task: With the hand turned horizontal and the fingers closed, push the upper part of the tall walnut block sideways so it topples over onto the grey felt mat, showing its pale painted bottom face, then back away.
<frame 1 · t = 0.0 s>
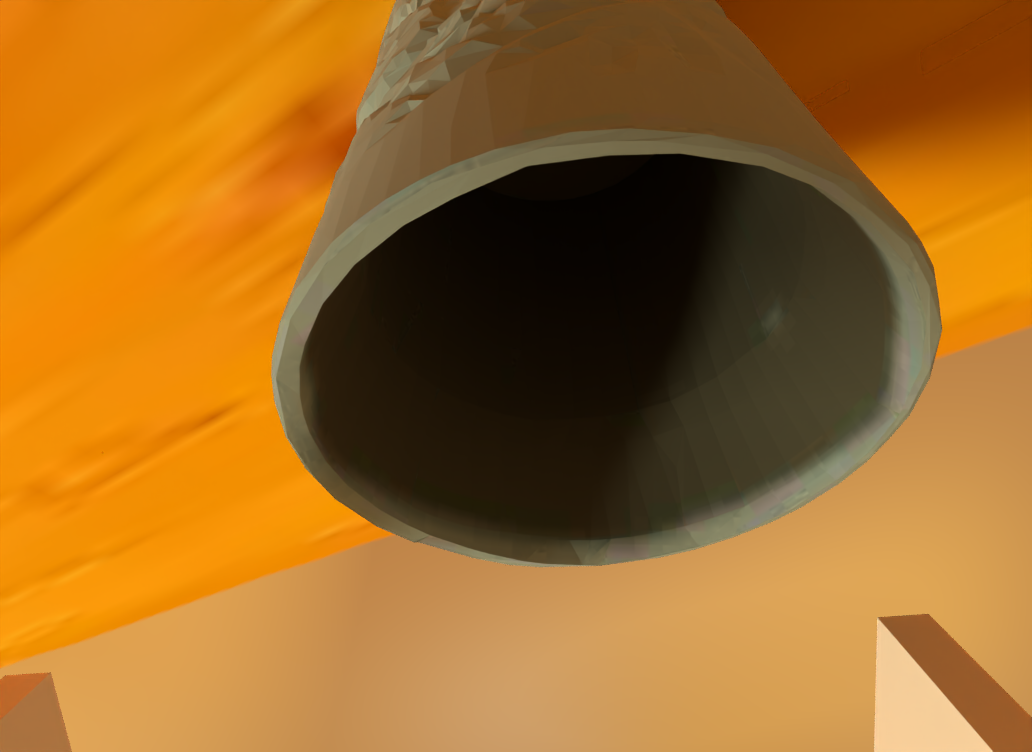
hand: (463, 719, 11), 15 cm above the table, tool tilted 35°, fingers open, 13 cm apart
grey green cup: (552, 73, 19), on the table
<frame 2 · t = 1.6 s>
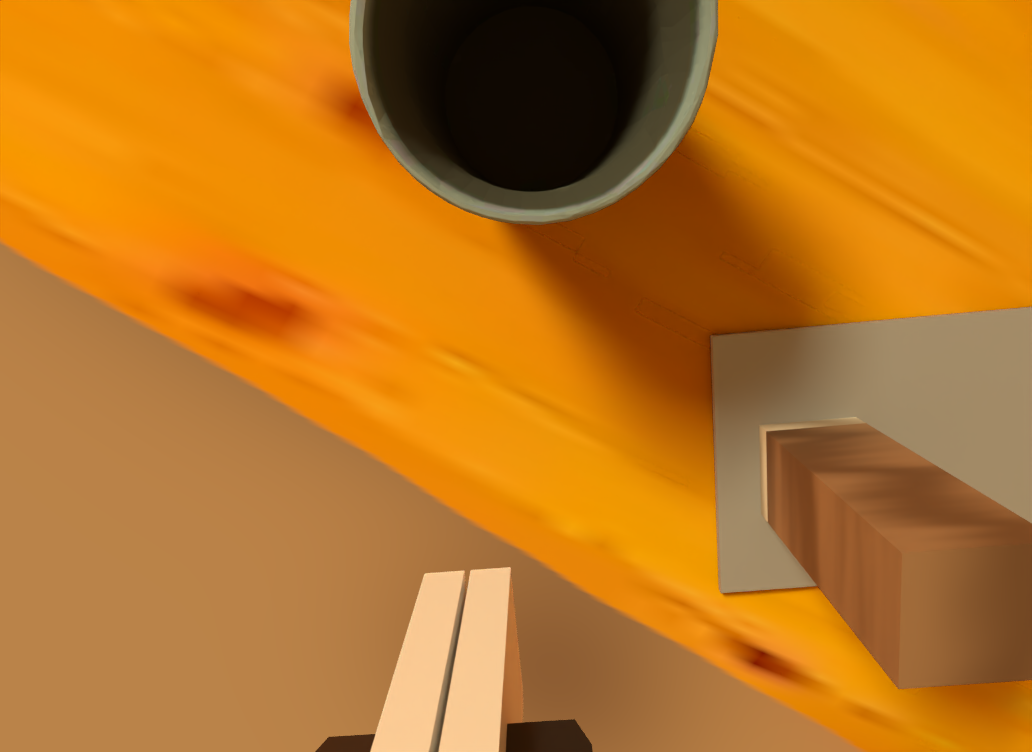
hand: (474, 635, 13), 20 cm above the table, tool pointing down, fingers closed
felt mat: (946, 448, 33), on the table
walnut block: (807, 466, 33), resting on felt mat
grey green cup: (532, 103, 31), on the table
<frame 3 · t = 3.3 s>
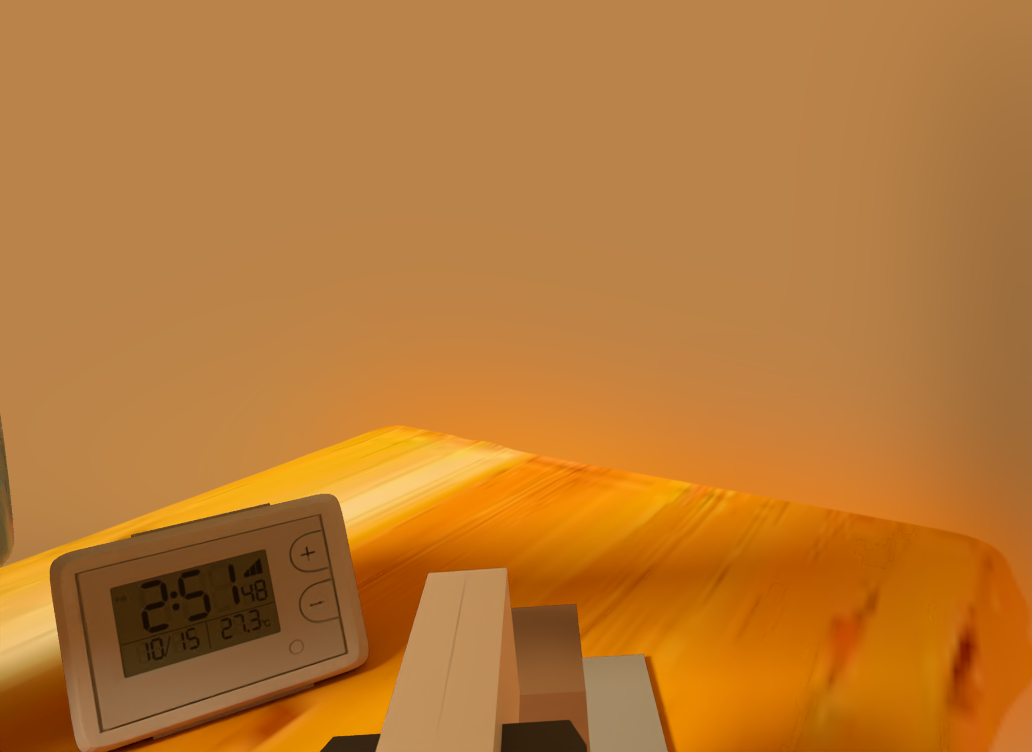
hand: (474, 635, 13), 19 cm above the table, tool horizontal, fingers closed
digital clock: (235, 694, 42), on the table
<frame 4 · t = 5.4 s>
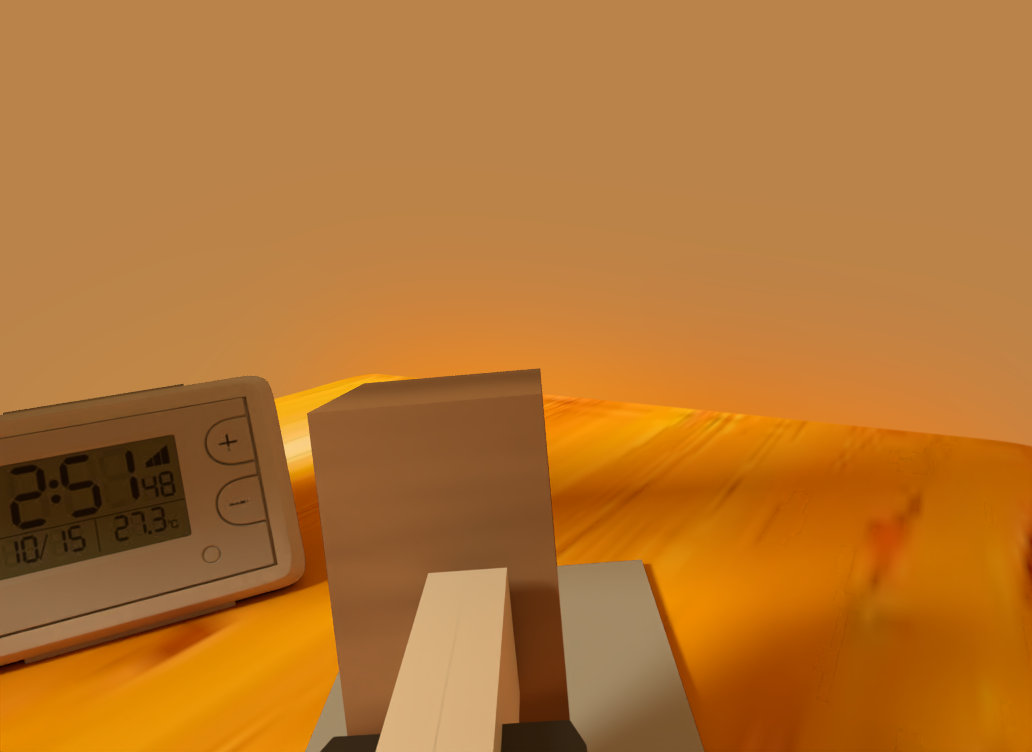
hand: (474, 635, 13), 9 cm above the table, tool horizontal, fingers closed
felt mat: (500, 738, 24), on the table
digital clock: (139, 617, 35), on the table
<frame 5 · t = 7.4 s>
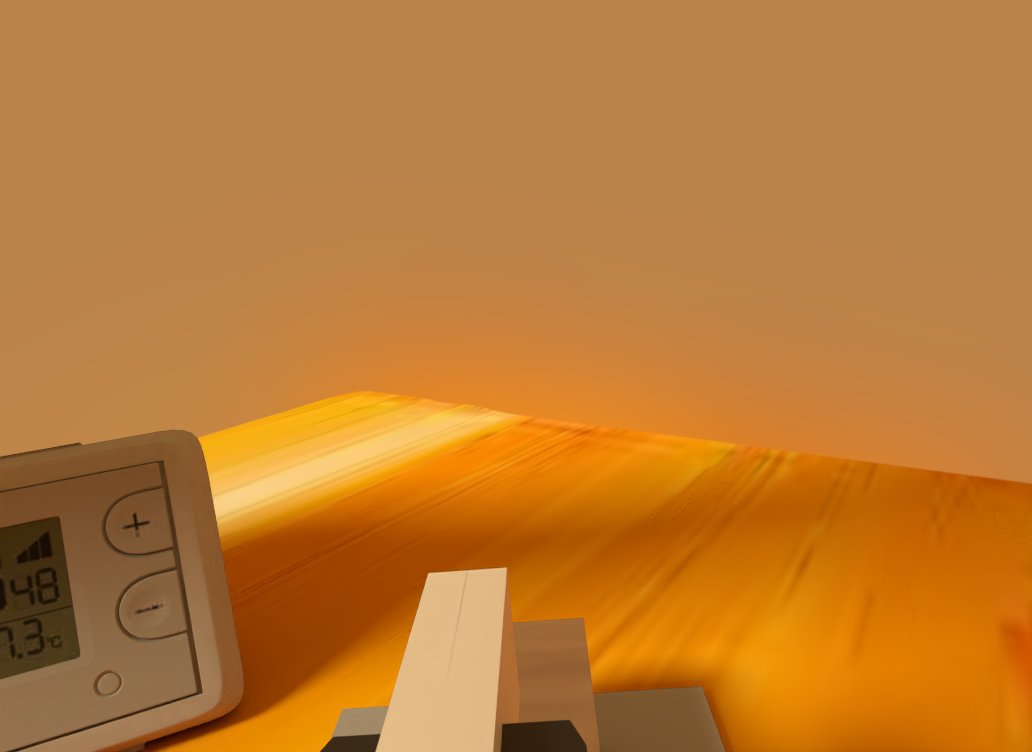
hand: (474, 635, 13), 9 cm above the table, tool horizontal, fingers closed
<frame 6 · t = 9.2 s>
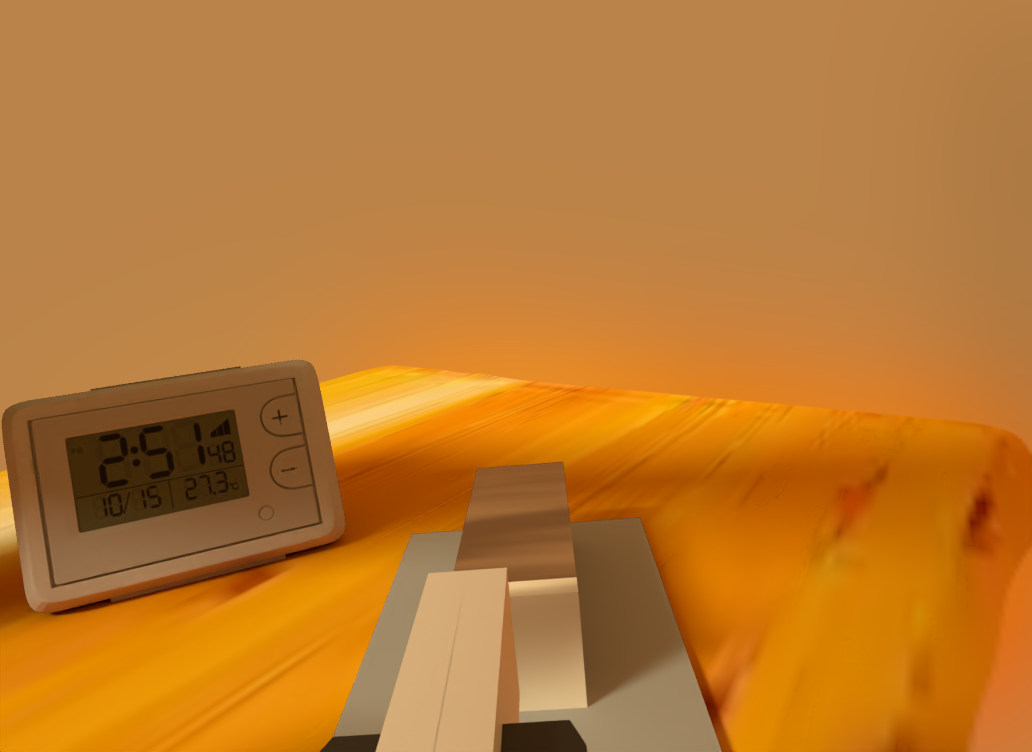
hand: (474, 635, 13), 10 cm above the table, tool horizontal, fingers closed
felt mat: (522, 647, 29), on the table
walnut block: (518, 655, 24), point 3 cm above the table, tilted 90°, touching felt mat
digital clock: (203, 567, 40), on the table
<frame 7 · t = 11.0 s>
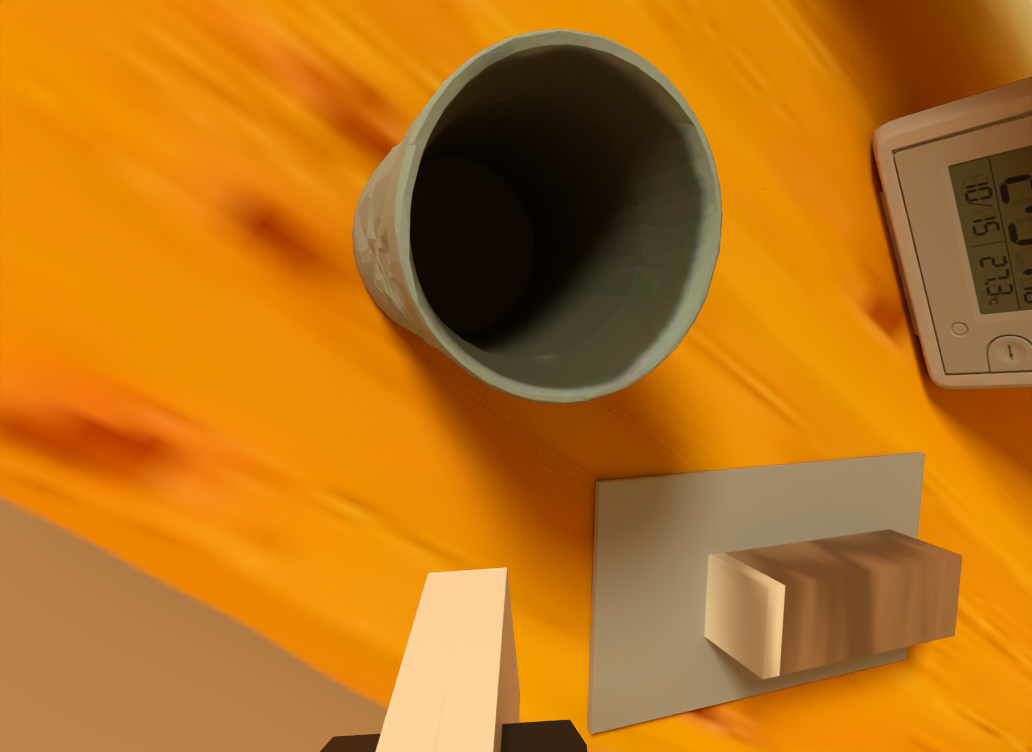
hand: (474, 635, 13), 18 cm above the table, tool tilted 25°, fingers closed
felt mat: (767, 579, 39), on the table
walnut block: (734, 613, 35), point 3 cm above the table, tilted 90°, touching felt mat
grey green cup: (452, 248, 31), on the table
digital clock: (919, 251, 41), on the table
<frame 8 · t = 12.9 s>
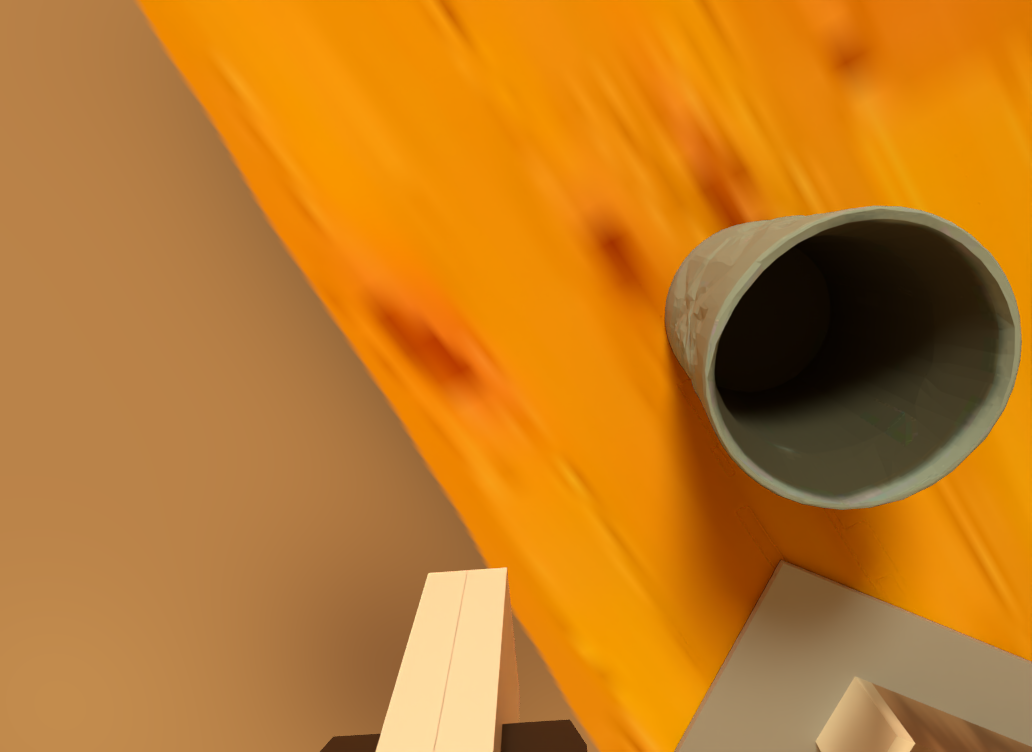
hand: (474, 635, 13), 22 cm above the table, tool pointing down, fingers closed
felt mat: (903, 729, 39), on the table
walnut block: (853, 738, 36), point 3 cm above the table, tilted 90°, touching felt mat
grey green cup: (749, 316, 35), on the table
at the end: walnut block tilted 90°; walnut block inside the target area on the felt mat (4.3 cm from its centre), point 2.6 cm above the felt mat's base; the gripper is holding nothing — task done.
